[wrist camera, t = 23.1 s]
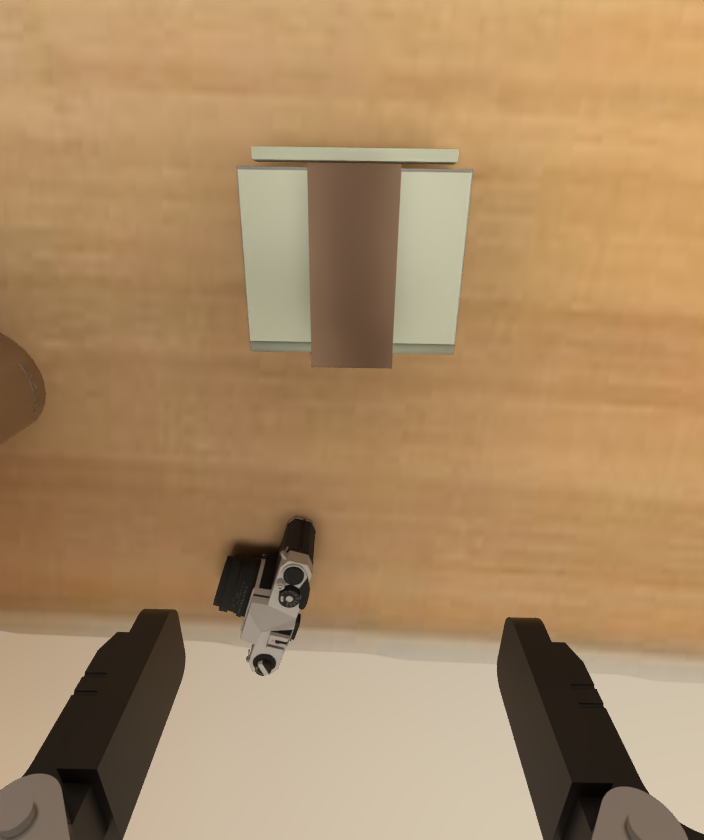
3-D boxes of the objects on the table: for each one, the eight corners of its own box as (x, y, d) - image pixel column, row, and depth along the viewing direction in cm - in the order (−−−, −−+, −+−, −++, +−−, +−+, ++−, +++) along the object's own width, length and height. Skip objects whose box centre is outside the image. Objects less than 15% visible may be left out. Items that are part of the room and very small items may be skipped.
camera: (240, 497, 44) (213, 565, 35) (323, 517, 44) (315, 587, 36) (219, 600, 49) (190, 680, 41) (293, 615, 50) (280, 697, 41)
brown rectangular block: (320, 337, 29) (311, 367, 24) (318, 172, 26) (307, 162, 20) (385, 338, 29) (391, 368, 24) (392, 173, 26) (401, 164, 20)
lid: (256, 345, 31) (251, 352, 30) (242, 149, 27) (235, 146, 25) (448, 349, 31) (453, 356, 30) (468, 152, 26) (474, 149, 25)
